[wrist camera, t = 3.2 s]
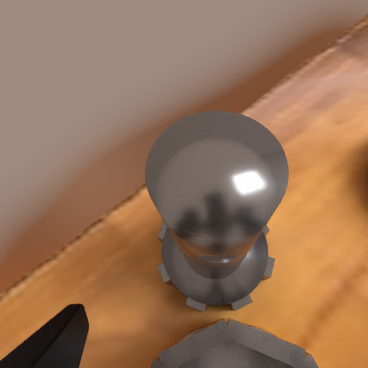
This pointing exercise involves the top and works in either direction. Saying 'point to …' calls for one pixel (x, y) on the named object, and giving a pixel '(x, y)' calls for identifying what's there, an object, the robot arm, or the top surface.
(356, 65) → the top surface
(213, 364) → the grey octagonal ring
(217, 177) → the grey cylinder with base
